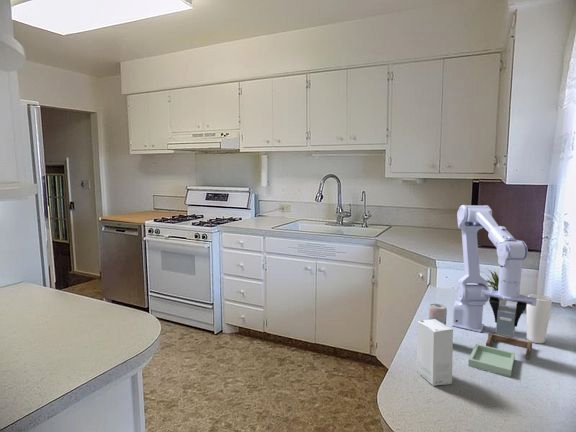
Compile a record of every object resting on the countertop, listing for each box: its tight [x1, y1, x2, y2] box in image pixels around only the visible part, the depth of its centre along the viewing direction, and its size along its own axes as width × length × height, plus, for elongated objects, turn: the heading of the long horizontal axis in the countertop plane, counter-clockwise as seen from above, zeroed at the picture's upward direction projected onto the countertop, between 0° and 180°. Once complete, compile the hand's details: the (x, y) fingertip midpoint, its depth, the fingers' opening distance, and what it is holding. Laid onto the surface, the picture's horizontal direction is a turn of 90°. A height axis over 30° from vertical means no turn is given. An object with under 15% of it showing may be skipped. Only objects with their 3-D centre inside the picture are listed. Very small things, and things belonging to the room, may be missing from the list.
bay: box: [485, 332, 533, 360], centre depth 122 cm, size 12×9×2 cm
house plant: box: [480, 268, 508, 306], centre depth 161 cm, size 14×14×16 cm
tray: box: [467, 343, 516, 378], centre depth 113 cm, size 11×13×2 cm
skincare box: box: [416, 319, 454, 387], centre depth 103 cm, size 8×6×15 cm
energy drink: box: [428, 303, 448, 326], centre depth 126 cm, size 5×5×12 cm
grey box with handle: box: [495, 305, 516, 338], centre depth 118 cm, size 4×8×7 cm, turn 146°
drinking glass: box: [525, 293, 552, 344], centre depth 128 cm, size 7×7×15 cm
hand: (506, 323), depth 118 cm, fingers closed on grey box with handle, 4 cm apart
